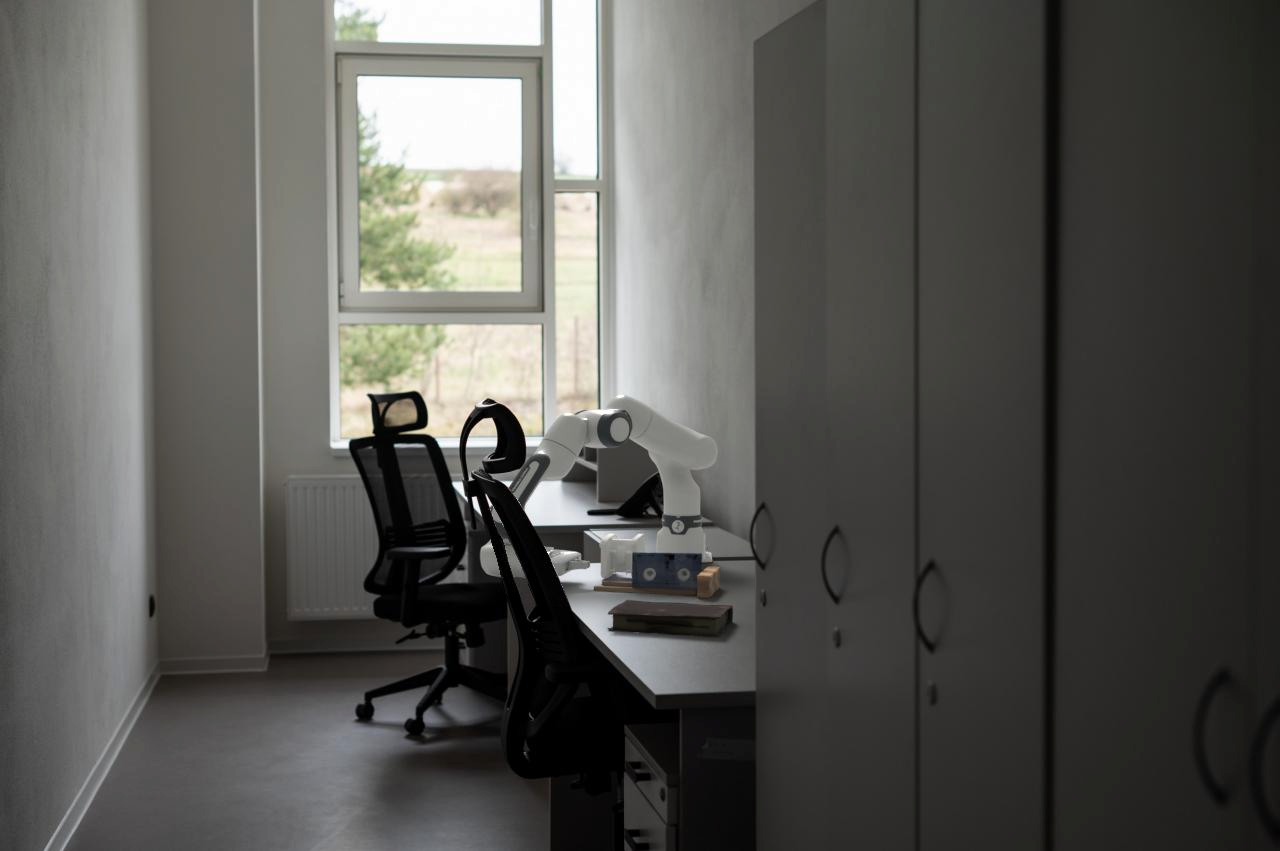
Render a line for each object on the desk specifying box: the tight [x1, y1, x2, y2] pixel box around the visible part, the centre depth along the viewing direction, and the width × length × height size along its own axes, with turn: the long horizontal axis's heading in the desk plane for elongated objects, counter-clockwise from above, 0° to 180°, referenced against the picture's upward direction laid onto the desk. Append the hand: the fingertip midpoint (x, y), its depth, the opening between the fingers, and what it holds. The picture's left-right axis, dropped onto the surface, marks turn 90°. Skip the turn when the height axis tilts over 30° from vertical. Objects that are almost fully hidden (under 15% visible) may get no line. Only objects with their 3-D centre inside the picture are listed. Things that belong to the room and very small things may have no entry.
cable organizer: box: [598, 533, 646, 580], centre depth 351 cm, size 15×11×12 cm
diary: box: [607, 599, 734, 639], centre depth 284 cm, size 19×25×5 cm
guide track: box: [593, 565, 721, 599], centre depth 331 cm, size 16×31×6 cm, turn 77°
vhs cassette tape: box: [631, 552, 703, 591], centre depth 330 cm, size 18×3×10 cm, turn 90°
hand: (588, 565), depth 335 cm, fingers closed
